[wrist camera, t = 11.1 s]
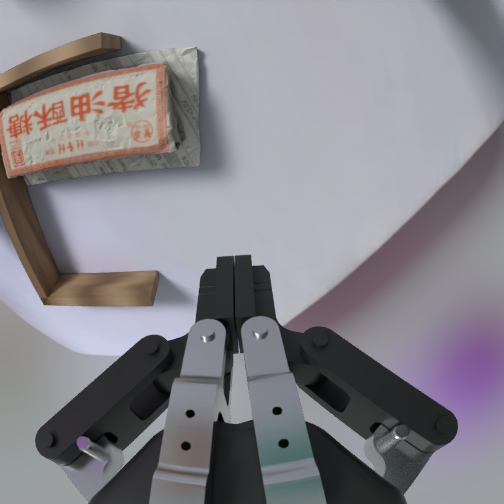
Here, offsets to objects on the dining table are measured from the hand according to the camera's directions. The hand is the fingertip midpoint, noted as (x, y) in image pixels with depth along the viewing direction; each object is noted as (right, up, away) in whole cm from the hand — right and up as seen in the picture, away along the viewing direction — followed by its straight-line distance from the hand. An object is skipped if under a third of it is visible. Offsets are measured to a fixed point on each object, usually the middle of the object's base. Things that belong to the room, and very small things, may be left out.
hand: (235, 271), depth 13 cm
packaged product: (-12, +12, +7) cm, 19 cm away
